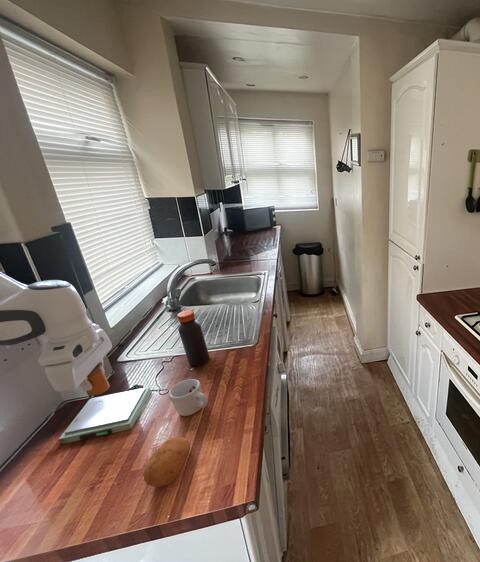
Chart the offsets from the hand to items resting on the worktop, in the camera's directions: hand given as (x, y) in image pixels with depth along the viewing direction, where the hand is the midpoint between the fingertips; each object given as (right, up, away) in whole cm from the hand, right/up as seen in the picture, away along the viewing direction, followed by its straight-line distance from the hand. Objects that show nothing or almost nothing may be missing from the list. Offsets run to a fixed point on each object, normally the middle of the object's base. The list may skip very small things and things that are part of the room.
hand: (95, 381), depth 85 cm
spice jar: (0, -3, +1) cm, 3 cm away
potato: (+29, -17, -11) cm, 36 cm away
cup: (+24, -10, +6) cm, 27 cm away
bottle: (+13, -2, +28) cm, 31 cm away
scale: (0, -12, +5) cm, 13 cm away
